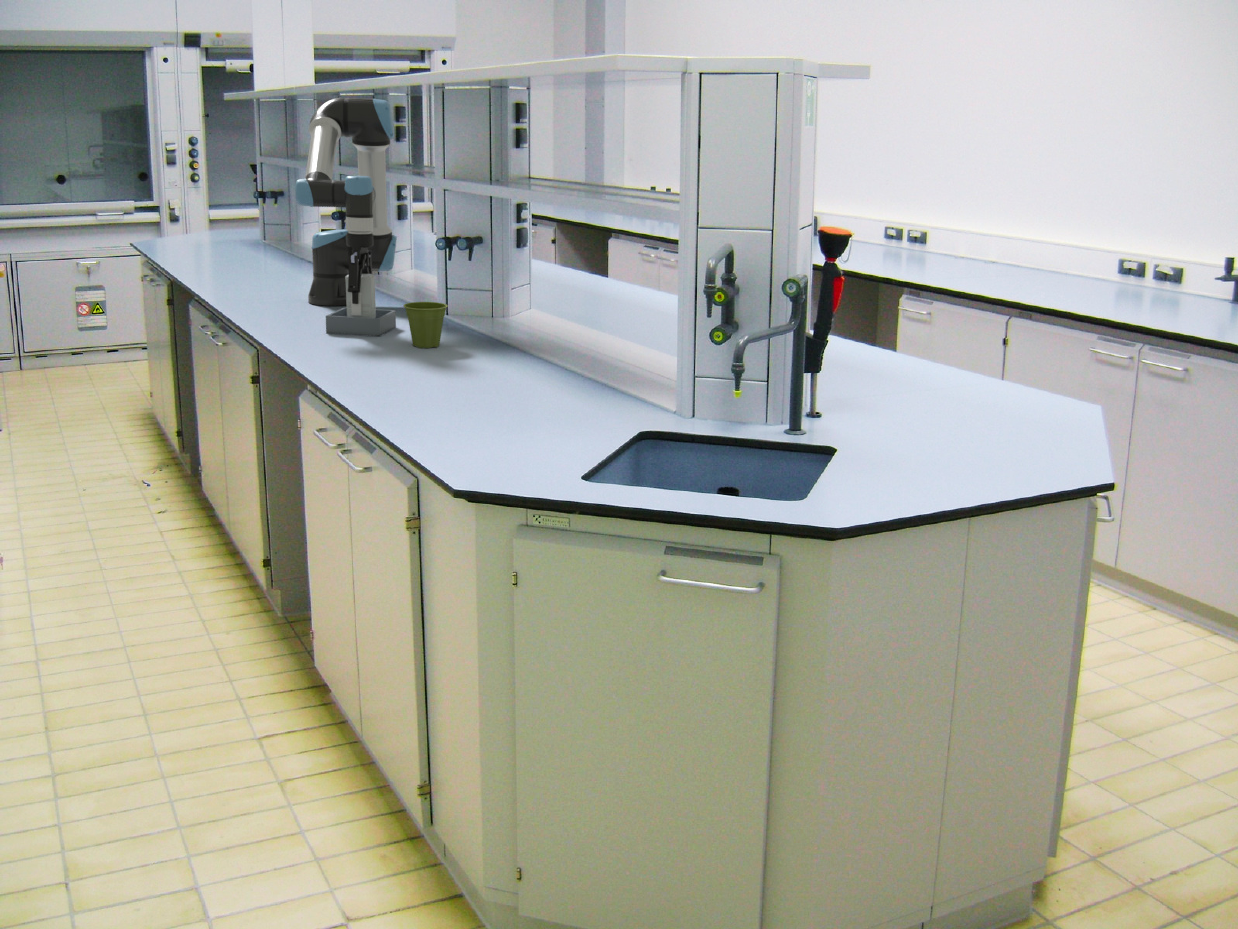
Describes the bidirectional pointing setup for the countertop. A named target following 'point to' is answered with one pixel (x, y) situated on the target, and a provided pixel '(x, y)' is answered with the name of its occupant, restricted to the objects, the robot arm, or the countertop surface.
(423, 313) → the plant pot
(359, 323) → the grey bin
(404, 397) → the countertop surface
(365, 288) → the supplement box
